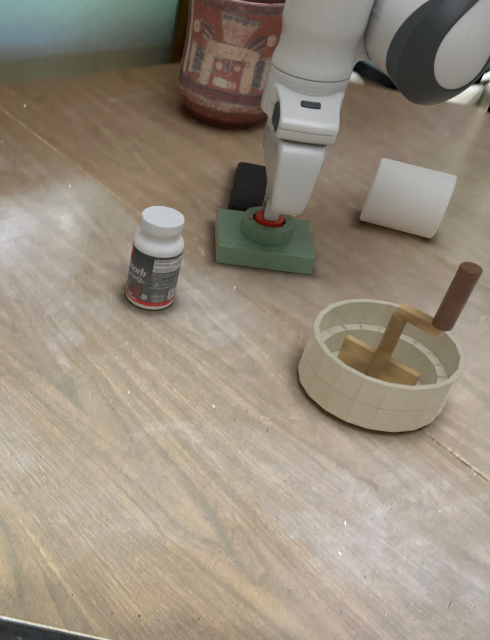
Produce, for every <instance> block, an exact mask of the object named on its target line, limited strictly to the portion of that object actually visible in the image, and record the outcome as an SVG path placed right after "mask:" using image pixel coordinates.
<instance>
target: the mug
mask: <svg viewBox="0 0 490 640" xmlns="http://www.w3.org/2000/svg"><path fill="white" fill-rule="evenodd" d="M457 180H458V178H457V175H455V174H451V173H447V172H443V171H439V170H435V169H431V168H428V167H423V166H419V165H414V164H410V163H407V162H402V161H399V160H394V159H390V158H387V157H382V158H381V159H380V161H379V163H378V166H377V169H376V171H375V174H374V176H373V179H372V182H371V184H370V188H369V190H368V193H367V196H366V199H365V201H364V203H363V207H362V210H361V213H360V215H359V221H361V222H365V223H368V224H369V223H370V224H373V225H377V226H381V227H384V228H388V229H392V230H396V231H400V232H402V233H407V234H411V235H414V236H418V237H422V238H426V239H432V238H433V237H434V236H435V234H436V232H437V230H438V229H439V228H440V227H439V226H440V225H441V222H442V221H443V218H444V216H445V214H446V212H447V210H448V207H449V204H450V202H451V199H452V197H453V193H454V191H455V188H456V184H457Z"/></svg>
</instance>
